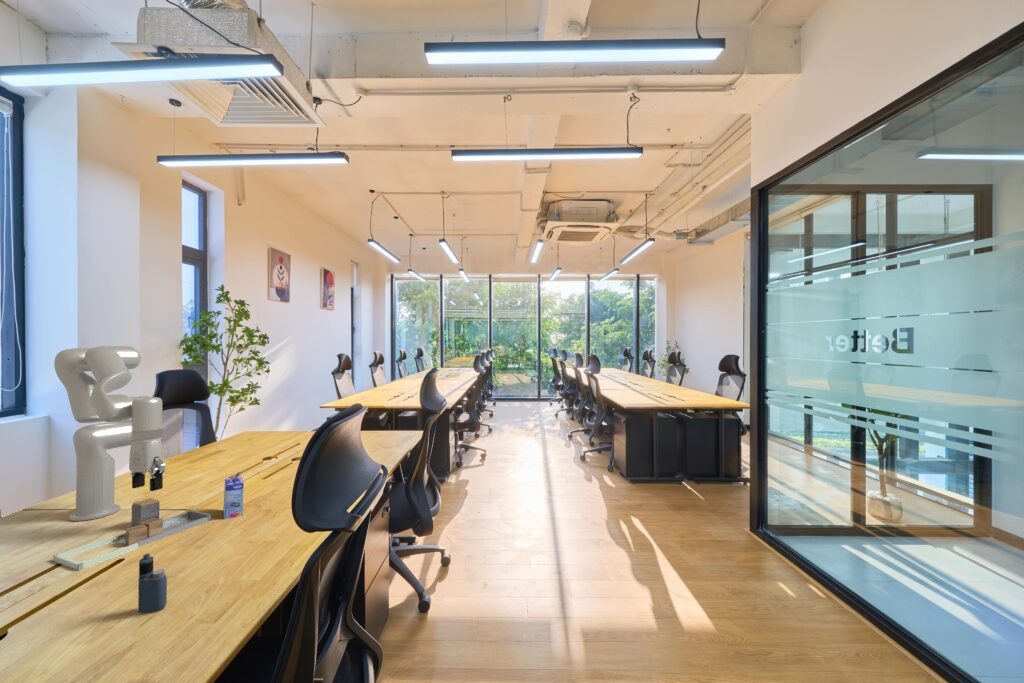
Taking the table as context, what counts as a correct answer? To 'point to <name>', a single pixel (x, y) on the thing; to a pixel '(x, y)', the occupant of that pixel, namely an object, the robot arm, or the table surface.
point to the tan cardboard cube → (153, 526)
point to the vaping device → (151, 587)
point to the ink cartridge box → (233, 497)
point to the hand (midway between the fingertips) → (147, 488)
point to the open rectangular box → (173, 526)
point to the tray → (77, 565)
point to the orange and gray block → (144, 511)
